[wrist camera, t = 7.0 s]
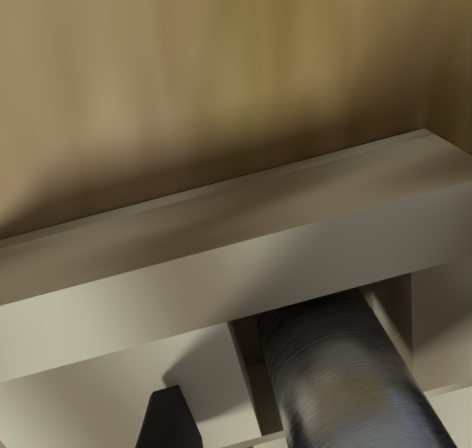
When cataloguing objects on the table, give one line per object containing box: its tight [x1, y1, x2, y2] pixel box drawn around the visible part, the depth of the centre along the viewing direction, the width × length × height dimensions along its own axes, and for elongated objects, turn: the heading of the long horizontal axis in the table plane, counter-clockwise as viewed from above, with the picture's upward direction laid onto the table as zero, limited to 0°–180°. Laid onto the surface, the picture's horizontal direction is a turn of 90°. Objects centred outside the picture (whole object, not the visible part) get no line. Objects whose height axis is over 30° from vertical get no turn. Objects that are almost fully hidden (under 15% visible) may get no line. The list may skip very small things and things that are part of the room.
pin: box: [254, 287, 458, 448], centre depth 9 cm, size 3×3×8 cm
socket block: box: [0, 128, 472, 448], centre depth 13 cm, size 12×12×3 cm
